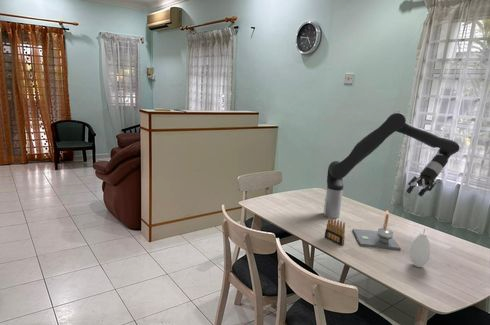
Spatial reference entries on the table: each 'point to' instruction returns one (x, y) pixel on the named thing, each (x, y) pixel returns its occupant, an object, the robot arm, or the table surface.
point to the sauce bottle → (420, 250)
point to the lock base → (374, 240)
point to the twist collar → (385, 229)
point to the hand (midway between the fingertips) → (413, 193)
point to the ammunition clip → (335, 232)
